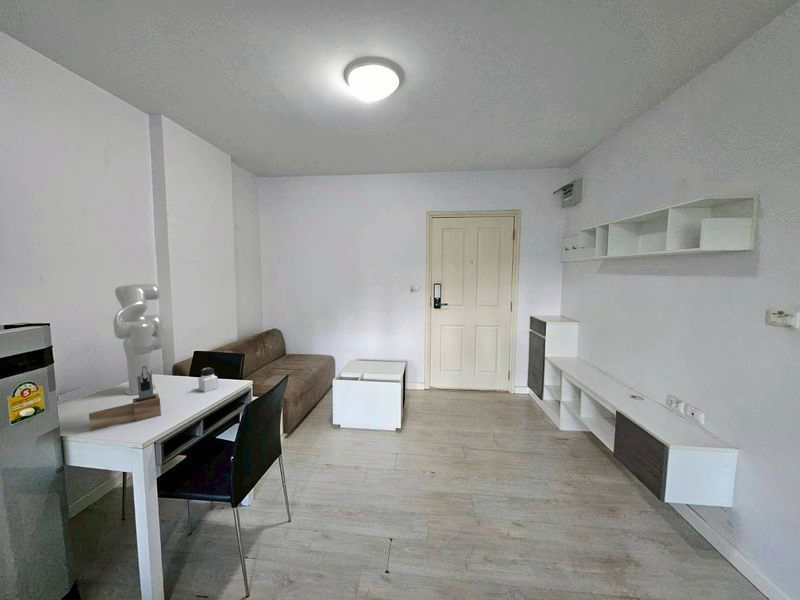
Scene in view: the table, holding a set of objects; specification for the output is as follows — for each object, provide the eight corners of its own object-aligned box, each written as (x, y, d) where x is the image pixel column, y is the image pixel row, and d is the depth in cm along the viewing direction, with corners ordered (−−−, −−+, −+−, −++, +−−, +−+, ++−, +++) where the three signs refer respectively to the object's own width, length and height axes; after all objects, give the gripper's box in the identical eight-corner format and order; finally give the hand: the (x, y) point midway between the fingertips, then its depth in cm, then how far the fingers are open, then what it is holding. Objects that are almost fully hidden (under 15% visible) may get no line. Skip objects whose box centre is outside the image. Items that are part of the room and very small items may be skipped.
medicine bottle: (218, 388, 171) (217, 368, 170) (204, 392, 166) (203, 371, 165) (212, 385, 175) (211, 366, 174) (198, 389, 170) (197, 369, 168)
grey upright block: (138, 397, 137) (136, 371, 136) (152, 394, 141) (150, 369, 140) (139, 399, 135) (136, 373, 134) (153, 395, 139) (151, 370, 138)
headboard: (91, 426, 129) (89, 408, 129) (158, 409, 145) (157, 393, 145) (90, 433, 123) (88, 415, 122) (161, 415, 139) (159, 398, 138)
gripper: (130, 348, 139) (133, 386, 141) (132, 355, 128) (135, 396, 129) (150, 345, 145) (154, 382, 146) (154, 351, 133) (157, 391, 134)
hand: (145, 388), depth 138 cm, fingers closed on grey upright block, 3 cm apart
